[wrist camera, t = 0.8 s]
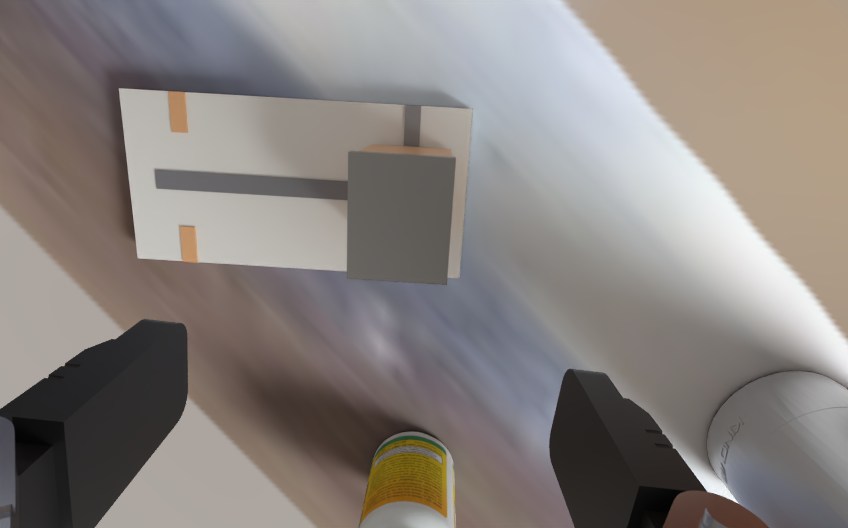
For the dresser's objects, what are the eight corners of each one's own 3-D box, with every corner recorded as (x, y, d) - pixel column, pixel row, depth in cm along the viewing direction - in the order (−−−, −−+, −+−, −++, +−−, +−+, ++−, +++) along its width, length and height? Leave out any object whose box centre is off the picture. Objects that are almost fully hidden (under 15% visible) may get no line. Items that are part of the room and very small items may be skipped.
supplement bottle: (466, 480, 34) (475, 618, 25) (394, 506, 35) (377, 649, 26) (432, 416, 33) (429, 536, 23) (358, 444, 33) (326, 572, 24)
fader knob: (452, 146, 26) (455, 158, 20) (445, 245, 27) (446, 284, 21) (370, 142, 26) (348, 151, 20) (367, 240, 27) (346, 278, 21)
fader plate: (471, 108, 27) (473, 108, 25) (458, 270, 30) (459, 279, 28) (135, 89, 27) (117, 88, 26) (152, 251, 30) (136, 258, 28)
